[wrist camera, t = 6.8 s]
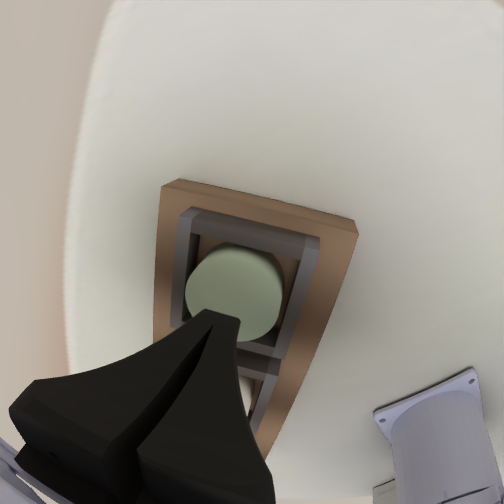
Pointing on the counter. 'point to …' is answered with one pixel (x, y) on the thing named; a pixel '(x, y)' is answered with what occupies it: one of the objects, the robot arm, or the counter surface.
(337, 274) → the button board
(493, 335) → the counter surface
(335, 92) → the counter surface
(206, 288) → the sage button
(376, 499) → the supplement box
